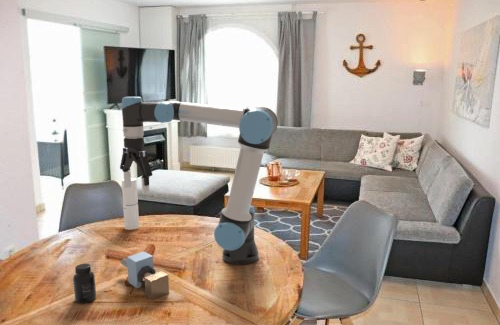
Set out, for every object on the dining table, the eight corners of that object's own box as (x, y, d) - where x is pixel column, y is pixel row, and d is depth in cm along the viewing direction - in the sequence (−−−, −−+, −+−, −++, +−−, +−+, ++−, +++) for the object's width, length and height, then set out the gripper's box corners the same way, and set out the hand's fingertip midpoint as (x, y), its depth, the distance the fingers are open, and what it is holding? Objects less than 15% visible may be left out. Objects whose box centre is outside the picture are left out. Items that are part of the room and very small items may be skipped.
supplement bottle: (99, 293, 147) (96, 261, 145) (92, 304, 141) (89, 270, 138) (79, 294, 147) (76, 262, 145) (71, 304, 140) (68, 271, 138)
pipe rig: (115, 276, 160) (114, 259, 159) (132, 270, 165) (131, 254, 164) (151, 300, 143) (150, 281, 142) (169, 293, 148) (168, 274, 146)
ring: (138, 285, 149) (137, 269, 148) (153, 279, 154) (152, 263, 152) (140, 287, 148) (139, 270, 147) (155, 281, 152) (155, 265, 151)
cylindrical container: (135, 230, 209) (132, 181, 204) (121, 229, 211) (118, 180, 206) (141, 225, 216) (139, 178, 211) (128, 224, 218) (125, 177, 213)
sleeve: (128, 282, 153) (127, 256, 151) (145, 276, 158) (144, 251, 156) (137, 288, 149) (135, 261, 147) (154, 281, 154) (152, 256, 152)
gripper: (109, 135, 168) (112, 186, 172) (142, 141, 151) (145, 198, 155) (126, 133, 173) (129, 183, 177) (160, 139, 156) (162, 194, 160)
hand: (136, 190), depth 166 cm, fingers open, 13 cm apart
